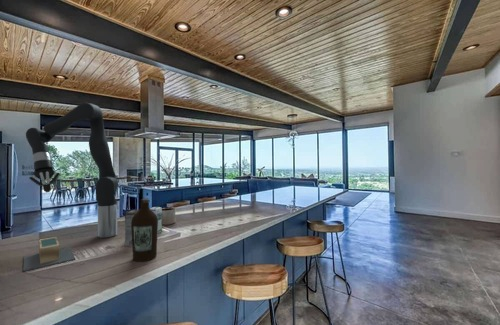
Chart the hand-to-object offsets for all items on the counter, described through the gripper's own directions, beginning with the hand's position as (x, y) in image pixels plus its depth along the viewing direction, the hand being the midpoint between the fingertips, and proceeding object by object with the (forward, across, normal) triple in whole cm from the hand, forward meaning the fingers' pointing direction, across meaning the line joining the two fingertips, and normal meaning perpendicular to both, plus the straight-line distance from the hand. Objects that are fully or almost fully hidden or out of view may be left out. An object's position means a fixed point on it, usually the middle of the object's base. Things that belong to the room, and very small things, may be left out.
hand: (47, 191), depth 124 cm
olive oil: (+50, +32, -36) cm, 69 cm away
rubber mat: (+36, -1, -17) cm, 40 cm away
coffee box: (+41, +32, -14) cm, 54 cm away
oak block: (+29, -2, -9) cm, 30 cm away
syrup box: (+38, +45, -2) cm, 59 cm away
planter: (+33, +56, +15) cm, 67 cm away
